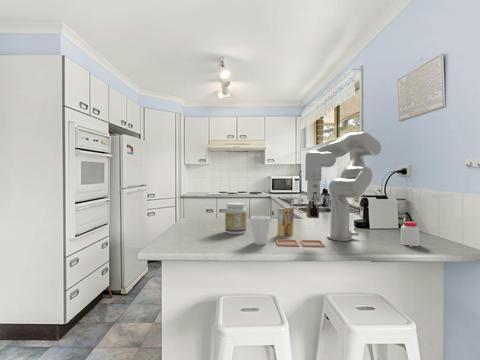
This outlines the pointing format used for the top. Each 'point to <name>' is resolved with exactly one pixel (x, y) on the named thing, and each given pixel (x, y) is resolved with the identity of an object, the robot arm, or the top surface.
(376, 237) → the top surface
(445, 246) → the top surface
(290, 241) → the dish middle
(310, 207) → the letter block
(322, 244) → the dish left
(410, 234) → the pill bottle
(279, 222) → the candy box
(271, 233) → the top surface
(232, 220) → the supplement tub
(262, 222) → the cup
